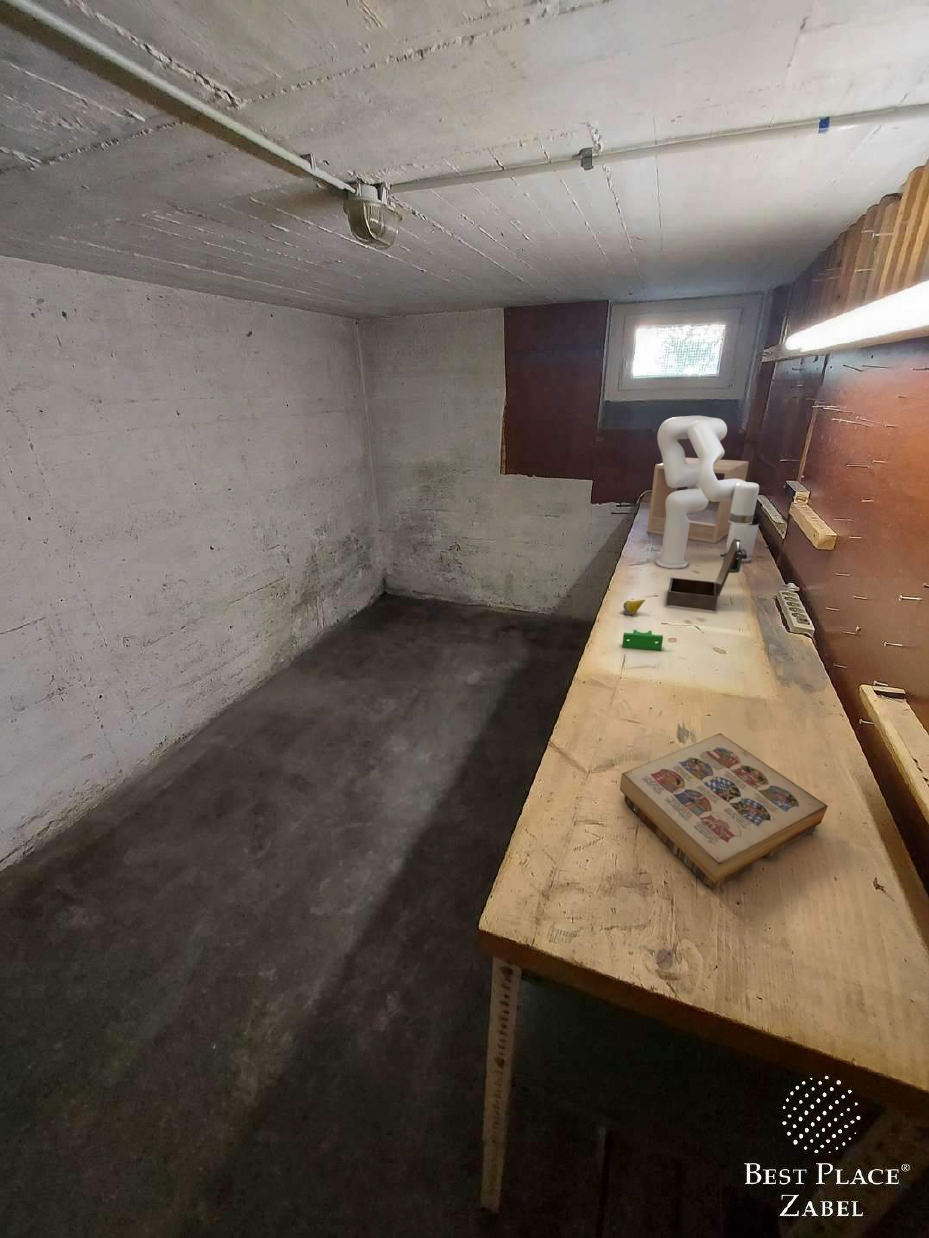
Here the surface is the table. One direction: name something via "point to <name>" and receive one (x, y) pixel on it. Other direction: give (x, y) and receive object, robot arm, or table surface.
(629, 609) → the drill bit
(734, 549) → the chest lid
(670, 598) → the chest
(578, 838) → the table surface
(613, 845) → the table surface
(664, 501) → the storage cube
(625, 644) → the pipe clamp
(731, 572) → the pot
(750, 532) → the travel mug
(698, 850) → the beige printed box
